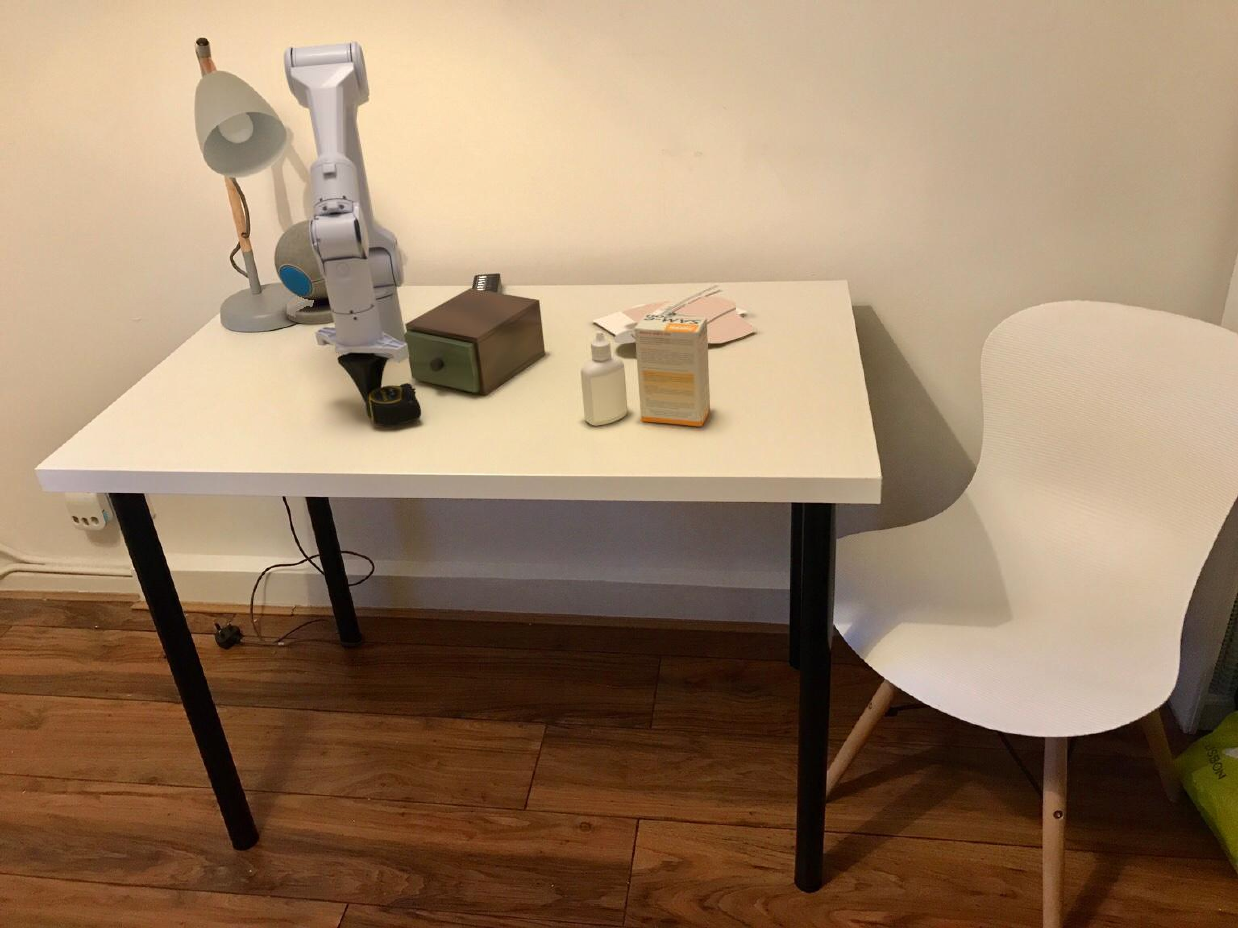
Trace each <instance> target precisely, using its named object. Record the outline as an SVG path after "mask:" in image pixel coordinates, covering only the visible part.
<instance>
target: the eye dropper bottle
mask: <svg viewBox="0 0 1238 928" xmlns="http://www.w3.org/2000/svg"><path fill="white" fill-rule="evenodd" d="M590 350H591V359H589V360H588V361H587V362H586V363H585V364H584V365H583V366H582V367H581V370H580V381H581V382H580V383H581V393H582V404H583V405H582V406H583V415H584V420H585V421H586V422H587V423H589V424H590V425H591V426H594V427H595V426H604V425H608V424H611V423H614V422H617V421H619V420H620V419H622V418H624V417H625V416H626V415H627V414H628V397H627V386H626V385H627V384H626V383H627V381H626V371H625V363H624V361H623V360H622V359H621V358H620V357H618V356H616V355H612V348H611V341H610V340H609V339H607V338H605V335H604V332H603V331H602V330H598V331H597V332H596V336H595V339H594V340H592V341H591V342H590Z"/></svg>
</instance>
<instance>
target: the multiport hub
mask: <svg viewBox="0 0 1238 928" xmlns="http://www.w3.org/2000/svg"><path fill="white" fill-rule="evenodd" d="M502 287H503V285H502V277H501V273H498V272H497V273H485V274H476V275H474V276H473V281H472V286H471V289H477V290H483V291H489V292H495V293H501V294H502Z"/></svg>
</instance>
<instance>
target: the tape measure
mask: <svg viewBox="0 0 1238 928" xmlns="http://www.w3.org/2000/svg"><path fill="white" fill-rule="evenodd" d="M416 392H417V391H416V387H413V386H412V384H411V383H408V382H406V383H401V384H400V385H385V386H381V388H378V389H376V390H373V391H372V392H371V393H370V394H369V395H368V396H367V400H366V403H365V409H366V414H367V416H368V418H369V419H370V420H371V421H372V422H373V423H374V424H376V425H379V426H384V427H394V426H399V425H402V424H405V423H408V422H411V421H415V420H417V419H419V418H421V416H422V408H421V404H420V402H419V401H418V399H417V396H416V394H417V393H416Z"/></svg>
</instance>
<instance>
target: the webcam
mask: <svg viewBox="0 0 1238 928" xmlns="http://www.w3.org/2000/svg"><path fill="white" fill-rule="evenodd" d="M310 220H312V221H313V220H314V219H308V220H302V221H300V222H297V223H294V224H293V225H291V226H290V227H288V228H287V229H286V230H285V231H284V232H283V234H282V235H281V236H280V237H279V239H278V241H277V243H276V246H275V249H274V255H273V256H274V257H273V258H274V261H273V262H274V267H275V268H274V269H275V271H276V274H277V277H278V278H279V280H280V282H281V283H282V285H283V286H284V287H285V288H286V289H287V290H288V291H289V292H290V293H292V294H293V295H294V296H296V295H297V296H299V297H302V298H304V299H308V300H314V303H313V306H312V307H310V306H306V307H304V308H303V309H300V310H299V311H296V312H295V313H296V314H295V316H296V317H294V316H291V315H289V314H287V313H286V316H287V318H288V319H289V320H290V321H292V322H295V323H299V324H306V325H307V324H311V325H313V324H325V323H326V324H327V323H332V322H334V321H333V316H332V312H331V307H330V303H329V298H328V293H327V289H326V284H325V279H324V277H322V276H321V274H320V270H319V266H318V262H317V260H316V258H315V255H314V252H313V249H312V246H311V241H310V233H309V223H310Z"/></svg>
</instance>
